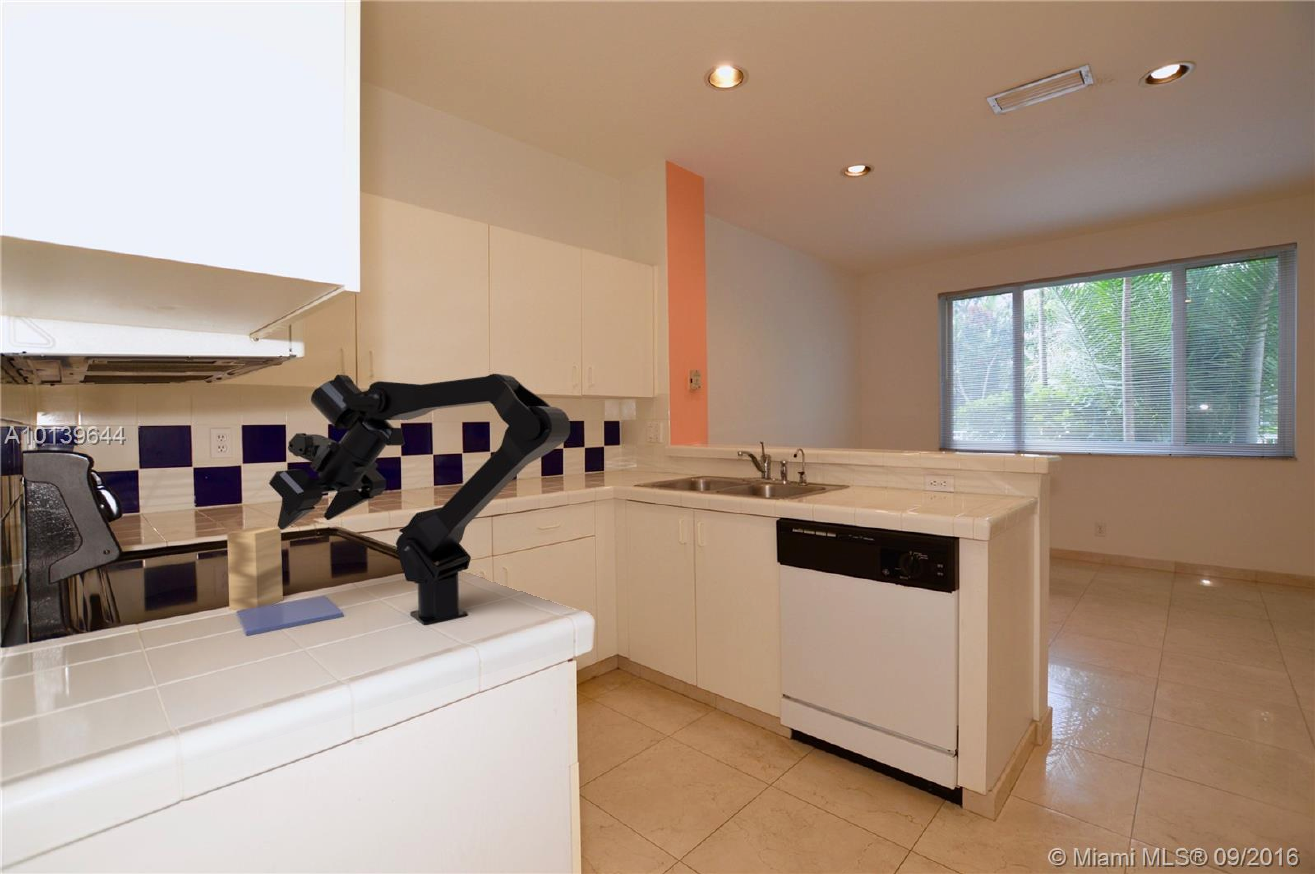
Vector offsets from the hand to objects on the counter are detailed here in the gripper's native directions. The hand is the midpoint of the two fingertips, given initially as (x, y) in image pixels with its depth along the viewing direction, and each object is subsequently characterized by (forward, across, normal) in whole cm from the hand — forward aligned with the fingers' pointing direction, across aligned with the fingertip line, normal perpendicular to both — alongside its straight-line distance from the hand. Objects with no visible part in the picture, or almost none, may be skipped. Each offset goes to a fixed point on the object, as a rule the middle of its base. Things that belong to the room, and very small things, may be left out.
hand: (304, 522), depth 95 cm
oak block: (+15, +1, +3) cm, 16 cm away
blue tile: (+9, +5, +10) cm, 14 cm away
